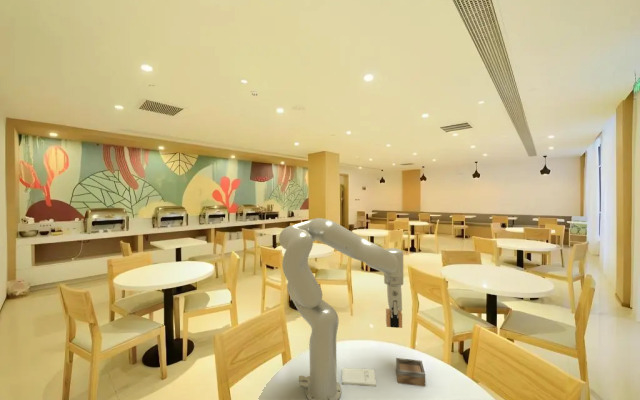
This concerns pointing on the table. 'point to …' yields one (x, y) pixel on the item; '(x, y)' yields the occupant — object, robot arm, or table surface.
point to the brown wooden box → (410, 372)
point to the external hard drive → (358, 377)
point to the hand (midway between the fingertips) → (393, 323)
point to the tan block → (388, 315)
